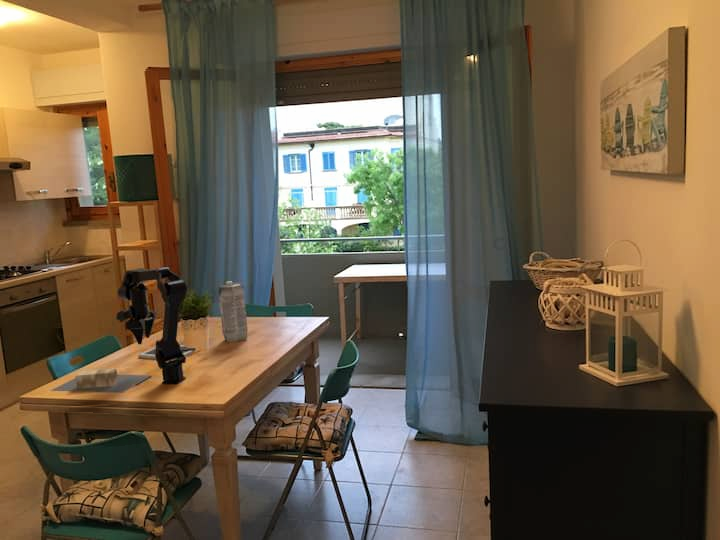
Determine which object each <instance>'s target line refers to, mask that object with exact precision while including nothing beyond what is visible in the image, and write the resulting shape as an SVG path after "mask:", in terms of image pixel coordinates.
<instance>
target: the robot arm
mask: <svg viewBox="0 0 720 540" xmlns="http://www.w3.org/2000/svg"><path fill="white" fill-rule="evenodd" d="M165 279H167V280H169V281H168V282H163V281H162V280H165ZM152 280H153V281H154V280H155V281H157V282H156V283H157V284H156V287H157V289H158V290H159V292H160V294H161V298H162V300H163V301H164V304H165V306H164V317H163V326H162V336H161V339H157V340H156V342H155V347H154V348H155V351H156V352H155V357H156V359H155V360H156V363H157V366H158V368H159V369H161V375H162V382H161V384H163V385H164V384H165V385H166V384H169V385H177V384H180V383H181V382H182V381H183V380H184V381H185V380H186V379H187V377H186V376H184V371H183V364H186V360H187V359H186V358H187V357H185V356H184V354H183V353H182V351H181V350H180V343H179V342H178V340H177V336H178V326H179V318H180V317H179V316H180V307H181V305H182V303H183V302H184V300H185V299H186V297H187V296H186V295H187V293H188V285H187V283H186V282H185V281H184V279H183V278H182V277H181V276H180V275H179V274H177V273H174V272H173V271H172V270H171V269H170V268H169V267H166V266H165V267H160V268H159V267H158V268H155V269H154V268H153V269H147V268H144V267H139V268H135V269H129V270H126V271H125V273H124V275H123V279H122V282H121V285H120V286H119V288H118V289H117V296H118V298H120V299H121V300H125V301H130V303H131V304H130V305H129V306H128V309H126V310H120V311H118V312H116V315H115V316H116V318H115V319H116V321H117V320H118V321H119V323H120V324H121V323H123V322H124V321H125V320H127V321H126V322H125V323H124V328H125V330H127V331H130V332H131V333H132V334H133V336H134V337H135V340H136V342H137V345H142V344H143V343H142V342H143V340H144V339H143V338H144V335H145V338H146V339H149V338H150V337H151V333H152V329H153V327H154V324H155V321H156V318H157V317H158V316H157V312H156V310H154V309H151V310H150V309H149V308H148V306H149V305H150V302H148V299H147V291H148V290H149V288H148V287H147V285H145V284H144V283H147V282H149V281H152ZM173 359H176V360H173ZM170 360H173V361H170Z"/></svg>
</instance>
